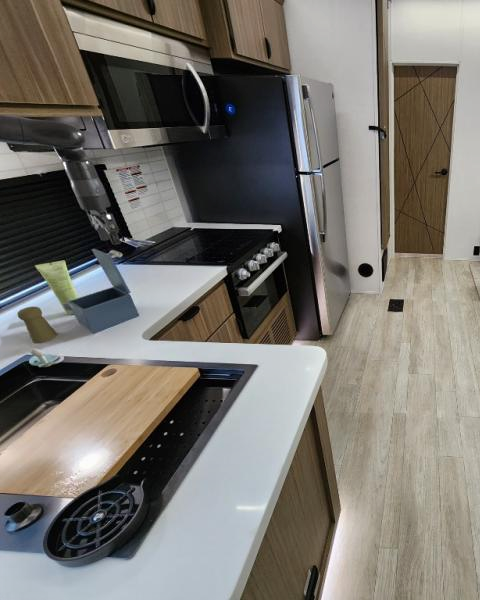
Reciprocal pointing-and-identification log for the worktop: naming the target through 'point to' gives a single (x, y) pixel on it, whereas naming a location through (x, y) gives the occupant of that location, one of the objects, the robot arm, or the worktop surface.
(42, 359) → the pacifier
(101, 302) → the blue-grey open box
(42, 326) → the cork
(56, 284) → the tube
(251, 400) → the worktop surface
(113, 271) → the hinged box lid
